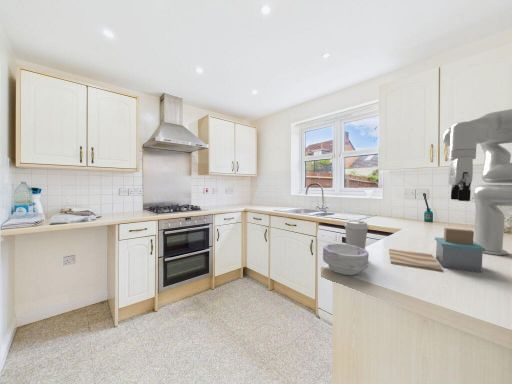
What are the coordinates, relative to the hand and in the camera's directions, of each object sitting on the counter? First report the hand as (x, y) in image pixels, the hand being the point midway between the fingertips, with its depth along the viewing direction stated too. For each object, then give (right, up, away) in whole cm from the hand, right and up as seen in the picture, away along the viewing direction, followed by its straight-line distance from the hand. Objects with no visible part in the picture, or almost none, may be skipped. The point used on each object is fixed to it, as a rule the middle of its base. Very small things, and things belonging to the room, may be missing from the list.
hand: (459, 200), depth 86 cm
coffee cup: (-36, -25, +10) cm, 45 cm away
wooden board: (-13, -25, +7) cm, 29 cm away
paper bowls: (-46, -25, -5) cm, 53 cm away
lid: (0, -19, +1) cm, 19 cm away
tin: (0, -25, +1) cm, 25 cm away
